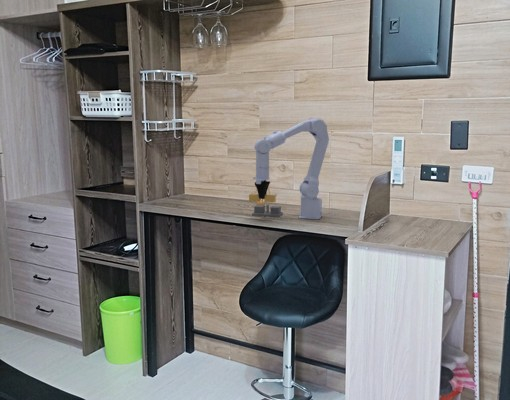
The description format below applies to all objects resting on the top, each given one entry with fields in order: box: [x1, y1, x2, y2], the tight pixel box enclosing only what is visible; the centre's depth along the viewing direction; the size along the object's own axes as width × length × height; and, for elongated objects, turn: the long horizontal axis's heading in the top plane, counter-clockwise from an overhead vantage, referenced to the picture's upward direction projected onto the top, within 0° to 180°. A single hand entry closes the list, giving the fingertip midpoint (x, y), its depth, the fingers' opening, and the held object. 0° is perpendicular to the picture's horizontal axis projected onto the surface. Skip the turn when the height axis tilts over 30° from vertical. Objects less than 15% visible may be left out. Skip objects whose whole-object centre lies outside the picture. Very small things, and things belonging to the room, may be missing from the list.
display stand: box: [251, 203, 284, 218], centre depth 237 cm, size 7×13×5 cm, turn 74°
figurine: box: [254, 187, 271, 206], centre depth 254 cm, size 8×6×12 cm
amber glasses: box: [248, 192, 277, 203], centre depth 228 cm, size 4×12×3 cm, turn 75°
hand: (262, 198), depth 227 cm, fingers closed on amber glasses, 2 cm apart
